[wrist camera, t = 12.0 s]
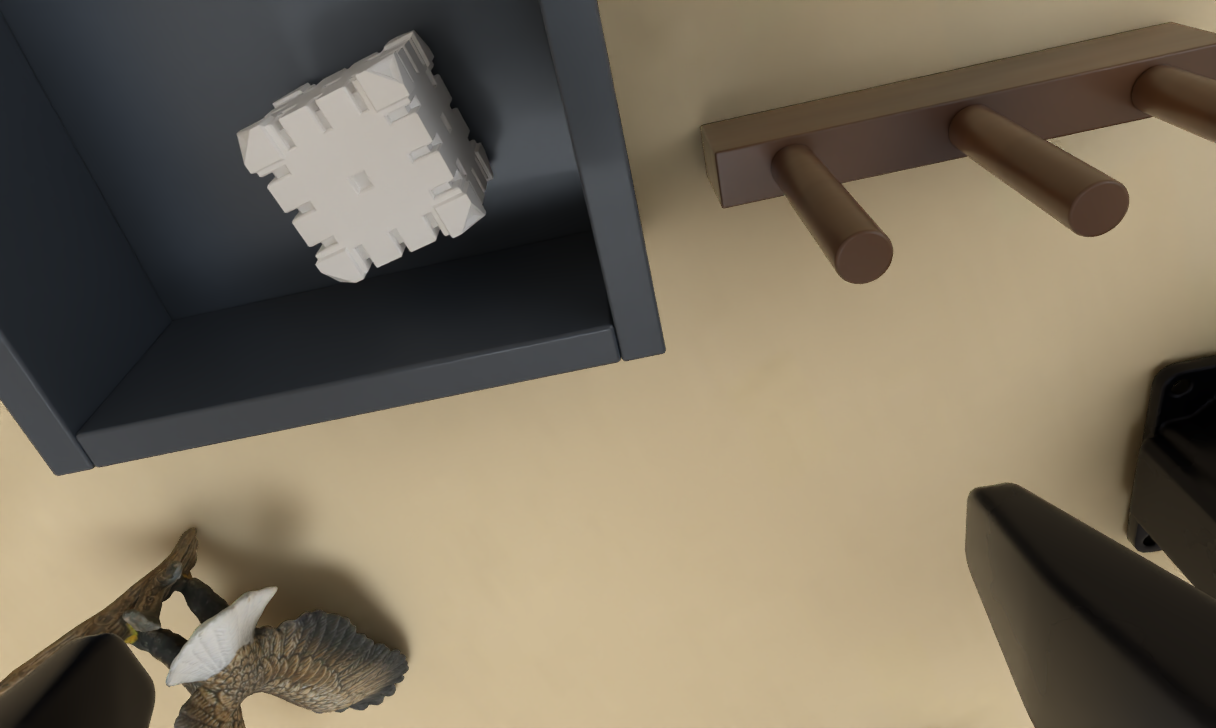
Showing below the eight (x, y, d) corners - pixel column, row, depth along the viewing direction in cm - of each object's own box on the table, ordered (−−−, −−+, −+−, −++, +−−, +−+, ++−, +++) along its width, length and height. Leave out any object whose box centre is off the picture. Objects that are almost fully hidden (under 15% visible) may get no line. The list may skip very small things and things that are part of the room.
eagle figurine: (16, 633, 23) (223, 836, 26) (-61, 761, 17) (226, 1014, 19) (255, 464, 25) (422, 666, 28) (270, 518, 19) (484, 773, 22)
